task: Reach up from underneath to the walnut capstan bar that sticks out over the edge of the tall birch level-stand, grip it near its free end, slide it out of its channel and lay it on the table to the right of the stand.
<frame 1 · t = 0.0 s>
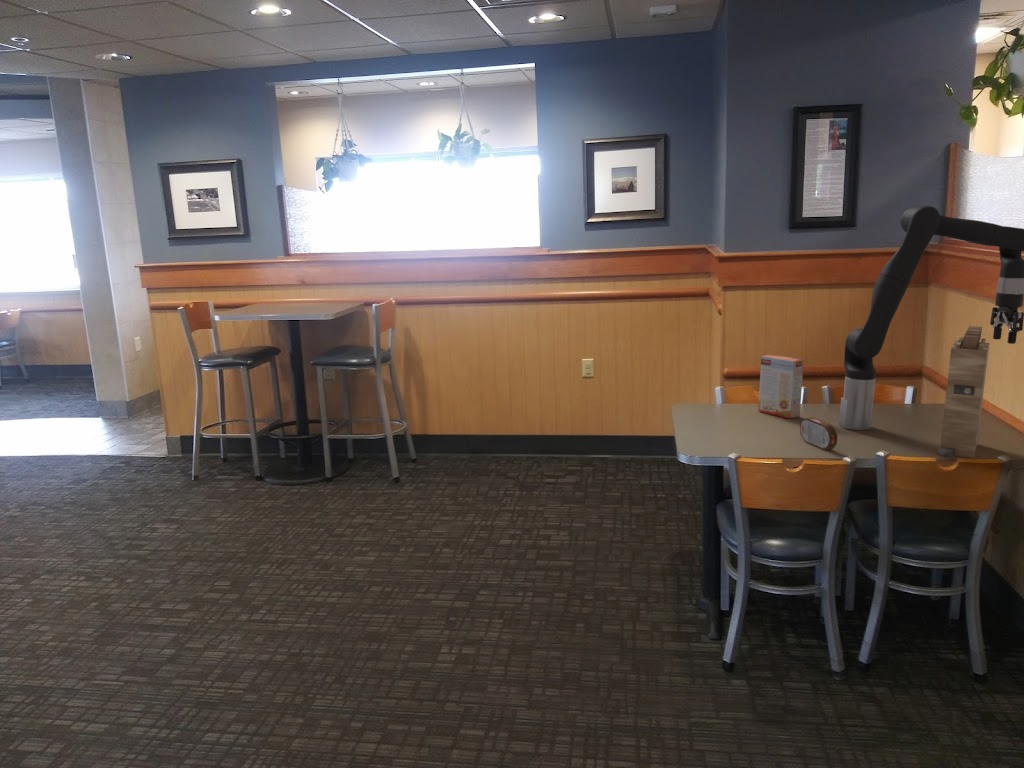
hand: (1003, 341, 253), 29 cm above the table, tool pointing down, fingers open, 8 cm apart
cracker box: (778, 414, 280), on the table
tin: (816, 446, 242), on the table
capstan bar: (971, 342, 235), point 32 cm above the table, touching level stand
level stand: (958, 448, 237), on the table
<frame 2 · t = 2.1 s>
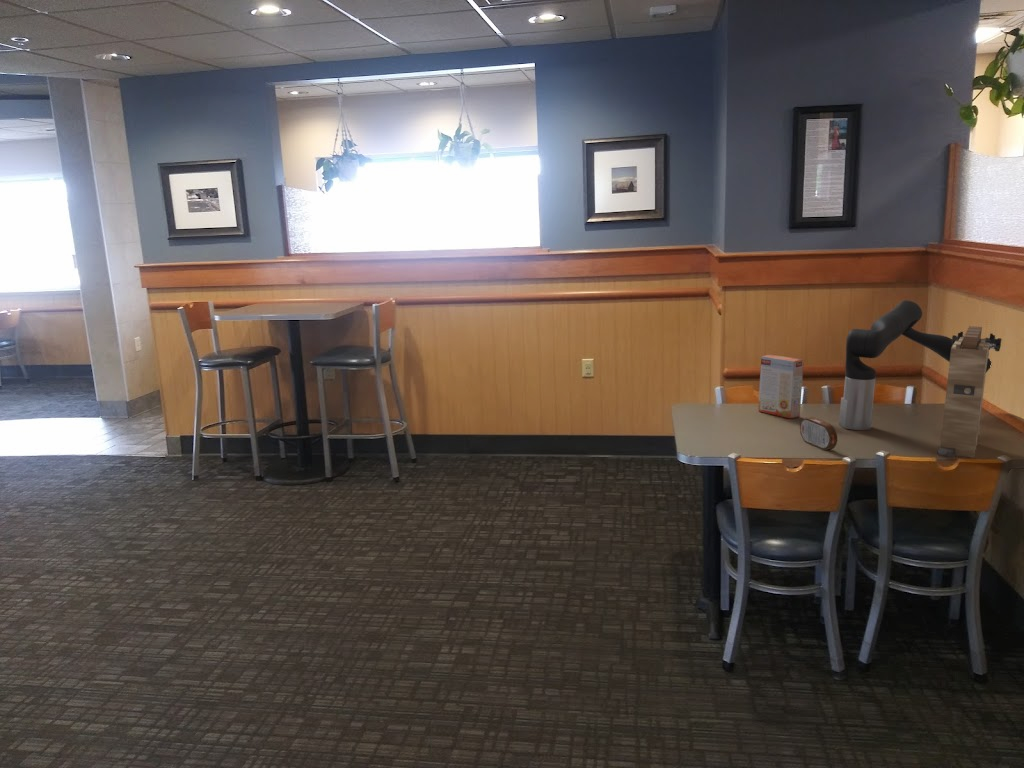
hand: (976, 335, 255), 31 cm above the table, tool pointing upward, fingers open, 8 cm apart
nothing on the table moved.
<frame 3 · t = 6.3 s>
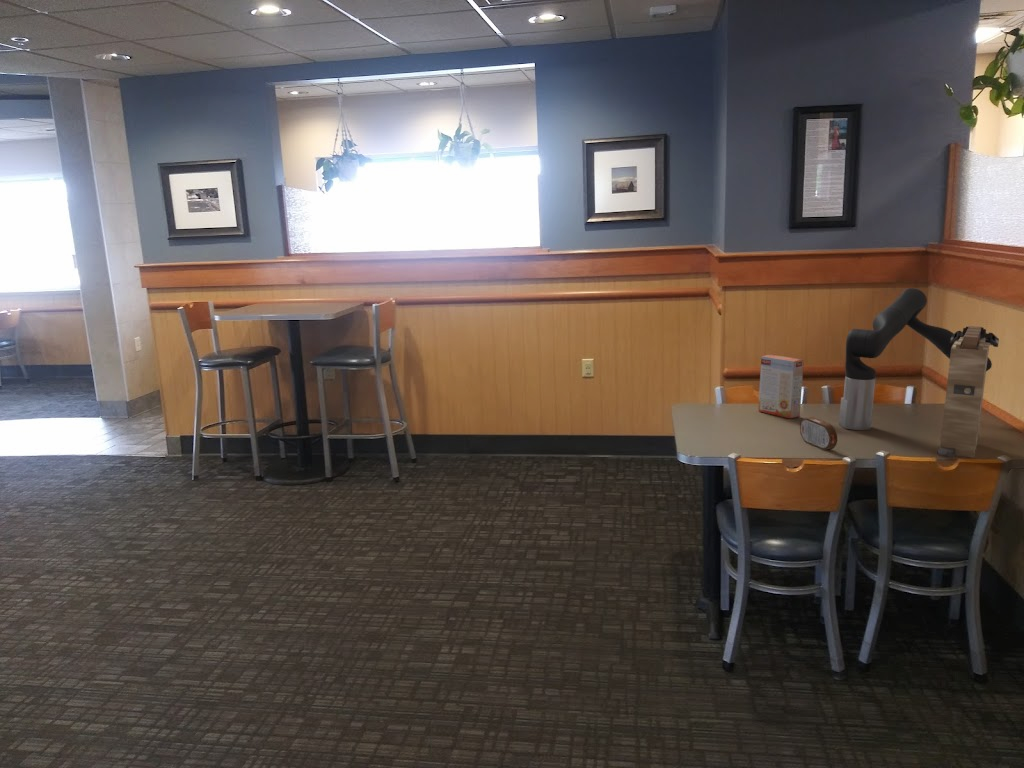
hand: (974, 329, 239), 35 cm above the table, tool pointing upward, fingers closed on capstan bar, 3 cm apart
capstan bar: (971, 342, 235), point 32 cm above the table, touching gripper, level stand
everything else where it was.
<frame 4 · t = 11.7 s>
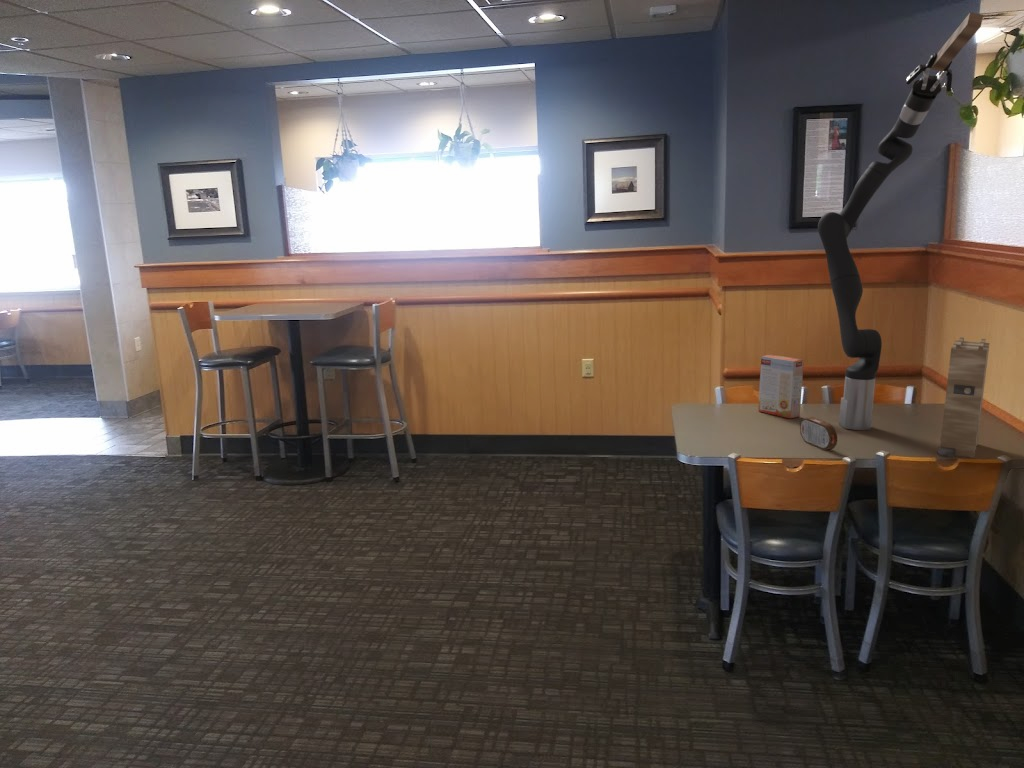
hand: (943, 55, 232), 117 cm above the table, tool pointing upward, fingers closed on capstan bar, 3 cm apart
capstan bar: (954, 49, 223), point 117 cm above the table, tilted 23°, touching gripper
everything else where it was.
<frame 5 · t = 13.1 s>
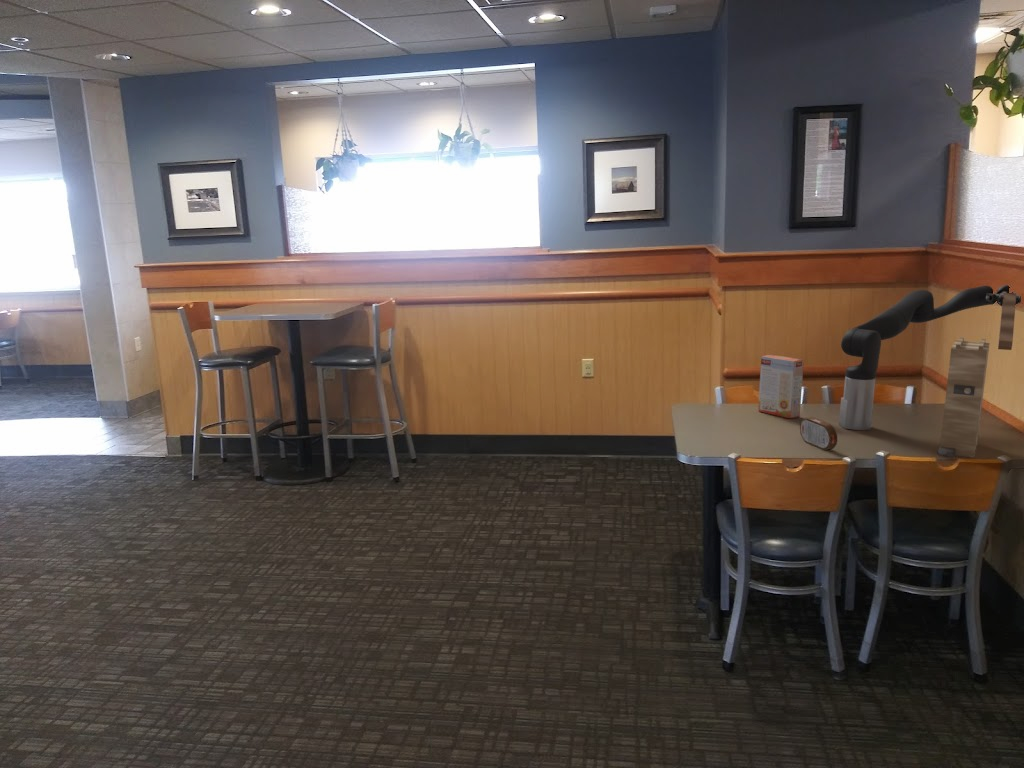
hand: (1009, 300, 250), 43 cm above the table, tool horizontal, fingers closed on capstan bar, 3 cm apart
capstan bar: (1006, 325, 247), point 35 cm above the table, tilted 32°, touching gripper
everything else where it was.
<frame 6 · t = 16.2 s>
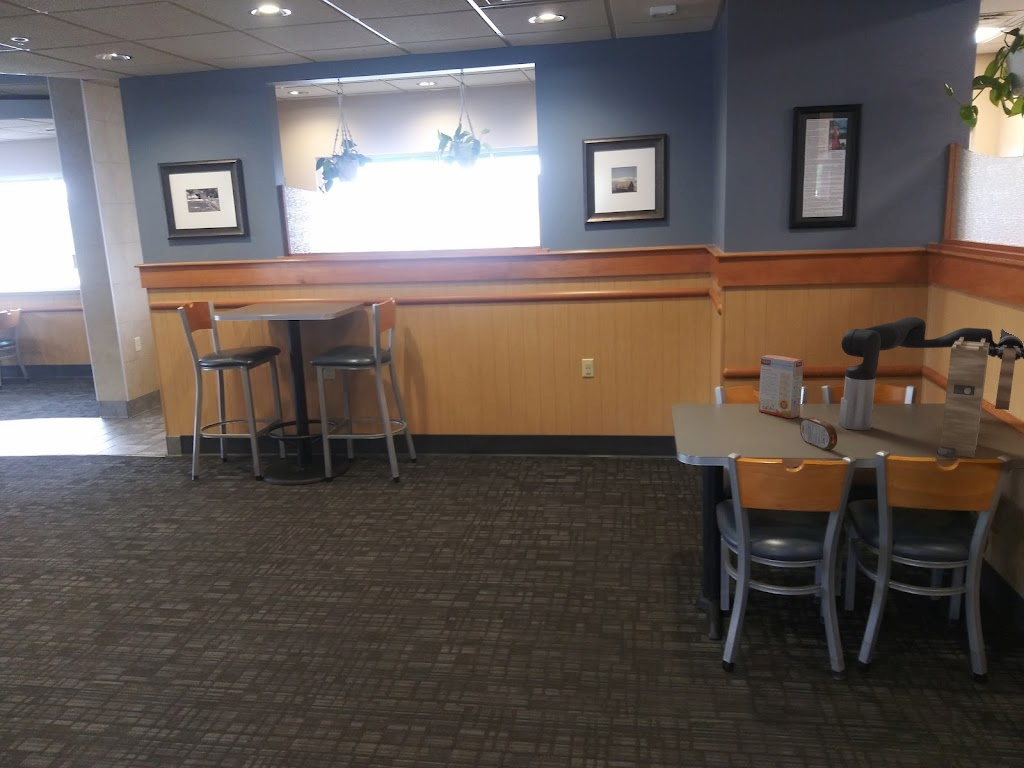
hand: (1008, 356, 243), 26 cm above the table, tool horizontal, fingers closed on capstan bar, 3 cm apart
capstan bar: (1005, 382, 240), point 19 cm above the table, tilted 33°, touching gripper
everything else where it was.
when the fingers open (7 cm above the table, at t = 18.8 s): capstan bar drops 3 cm, on the table.
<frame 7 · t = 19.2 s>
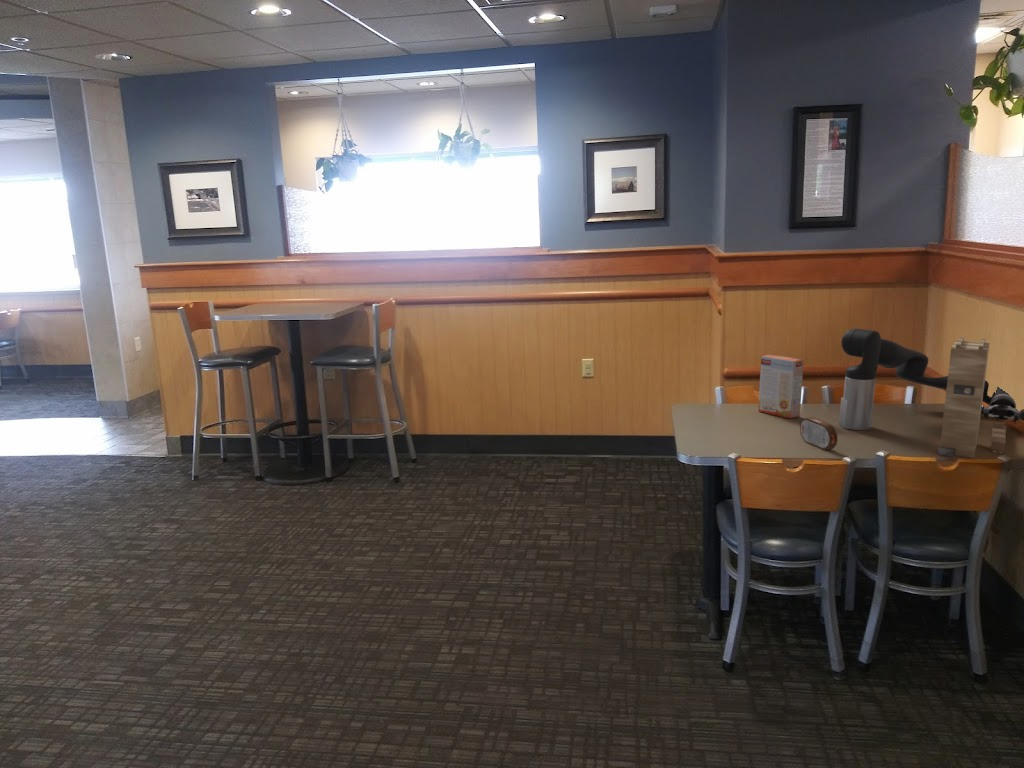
hand: (1001, 417, 247), 7 cm above the table, tool horizontal, fingers open, 7 cm apart
capstan bar: (997, 443, 243), on the table
everything else where it was.
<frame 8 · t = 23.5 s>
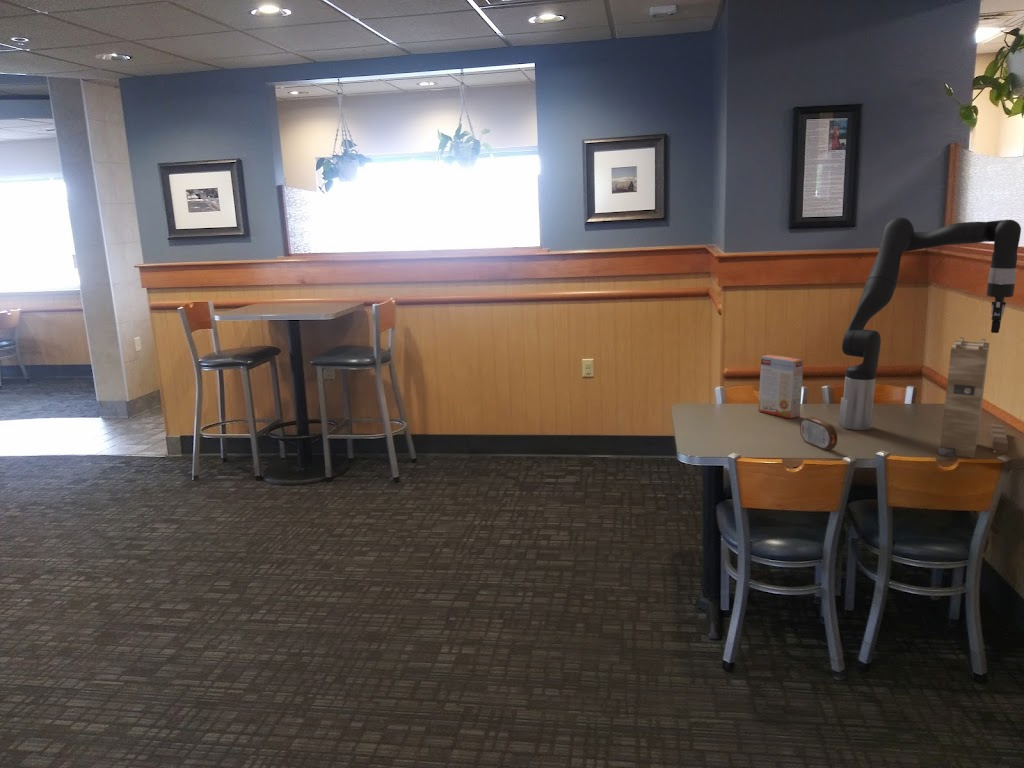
hand: (995, 331, 256), 32 cm above the table, tool pointing down, fingers open, 8 cm apart
nothing on the table moved.
at the end: capstan bar inside the target area (0.9 cm from its centre), on the table; capstan bar on the table; the gripper is holding nothing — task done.
